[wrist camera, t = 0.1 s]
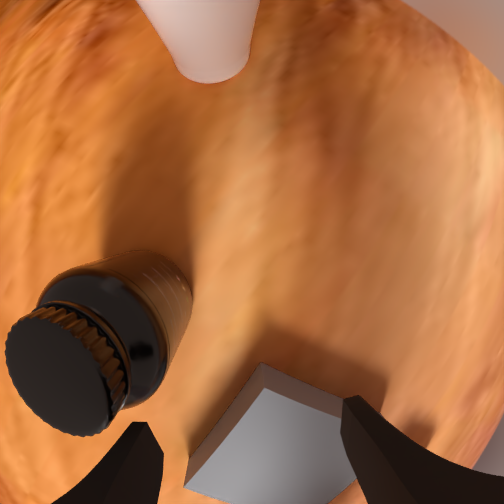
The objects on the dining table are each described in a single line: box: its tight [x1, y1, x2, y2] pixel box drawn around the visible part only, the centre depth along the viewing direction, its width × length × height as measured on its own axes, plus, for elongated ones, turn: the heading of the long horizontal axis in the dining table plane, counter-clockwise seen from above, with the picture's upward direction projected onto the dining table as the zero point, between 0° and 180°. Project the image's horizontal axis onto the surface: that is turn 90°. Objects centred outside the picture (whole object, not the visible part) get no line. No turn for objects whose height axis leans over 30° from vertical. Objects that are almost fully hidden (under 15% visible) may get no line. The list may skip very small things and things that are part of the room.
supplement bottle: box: [5, 250, 192, 437], centre depth 13 cm, size 7×7×12 cm
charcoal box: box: [184, 362, 384, 504], centre depth 19 cm, size 12×12×4 cm
